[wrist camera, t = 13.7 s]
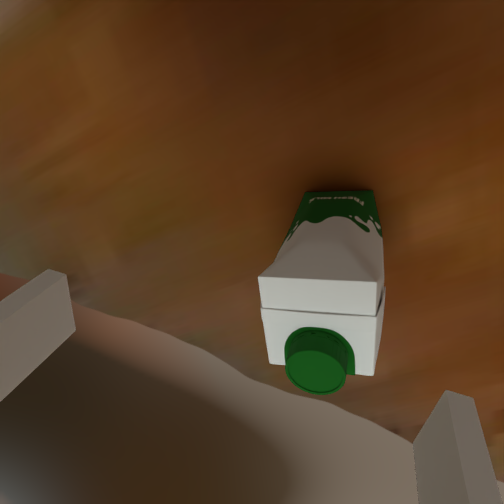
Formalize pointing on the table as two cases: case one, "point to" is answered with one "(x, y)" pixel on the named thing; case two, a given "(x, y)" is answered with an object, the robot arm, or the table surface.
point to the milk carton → (326, 292)
